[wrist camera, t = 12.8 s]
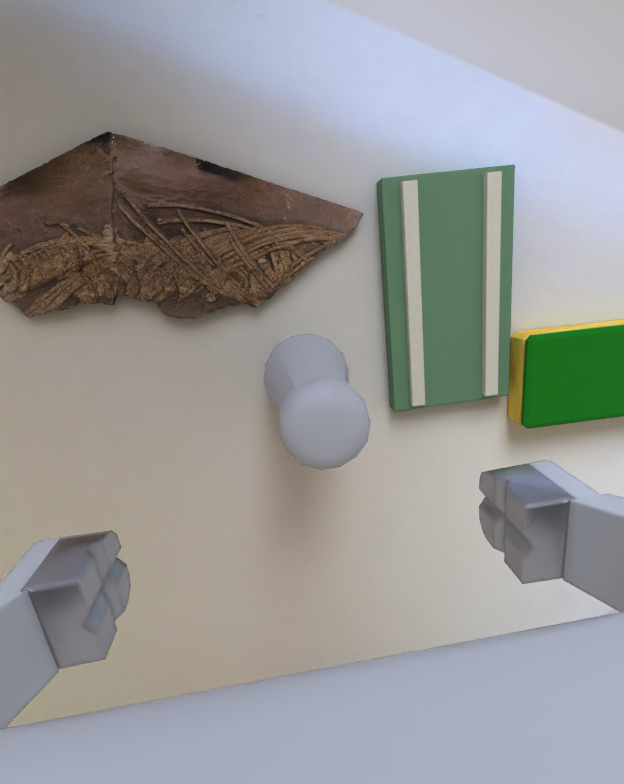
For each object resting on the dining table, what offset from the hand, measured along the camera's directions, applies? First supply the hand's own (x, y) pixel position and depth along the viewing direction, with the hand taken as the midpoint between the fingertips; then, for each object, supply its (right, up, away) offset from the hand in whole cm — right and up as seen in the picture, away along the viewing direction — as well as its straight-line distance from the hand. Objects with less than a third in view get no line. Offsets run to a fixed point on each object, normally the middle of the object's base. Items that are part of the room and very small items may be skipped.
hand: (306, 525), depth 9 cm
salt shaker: (-1, +5, +22) cm, 22 cm away
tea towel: (+10, +10, +21) cm, 25 cm away
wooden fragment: (-9, +14, +18) cm, 24 cm away
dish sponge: (+22, +5, +24) cm, 33 cm away
